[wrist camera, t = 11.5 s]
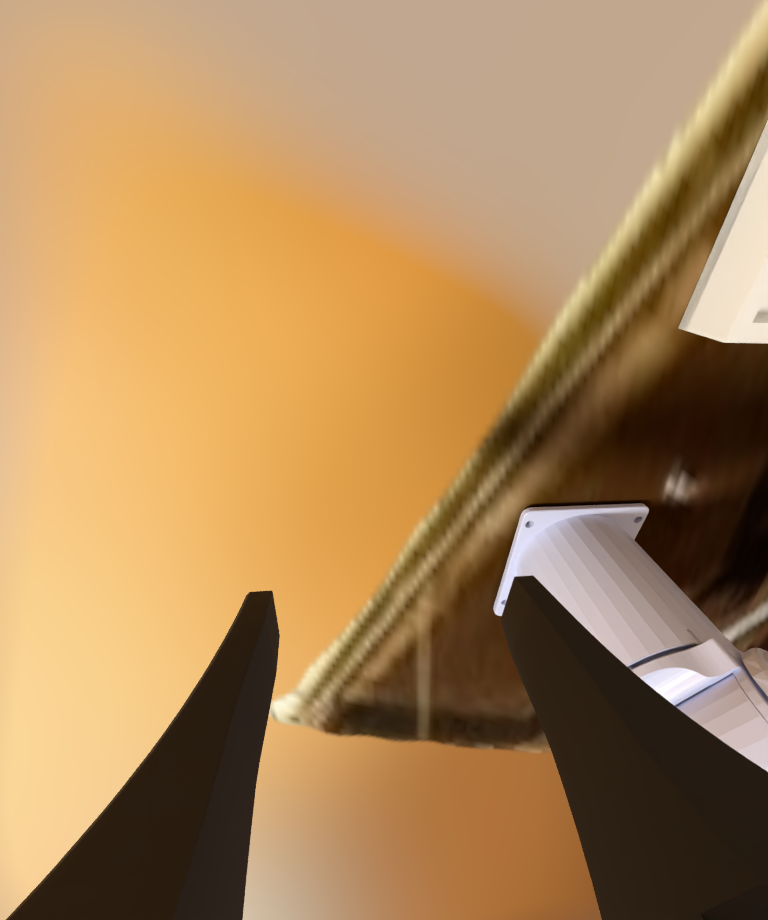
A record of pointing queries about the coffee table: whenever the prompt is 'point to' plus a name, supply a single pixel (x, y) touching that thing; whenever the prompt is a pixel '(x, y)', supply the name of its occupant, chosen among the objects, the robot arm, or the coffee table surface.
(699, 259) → the coffee table surface
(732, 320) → the tray
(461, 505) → the coffee table surface
